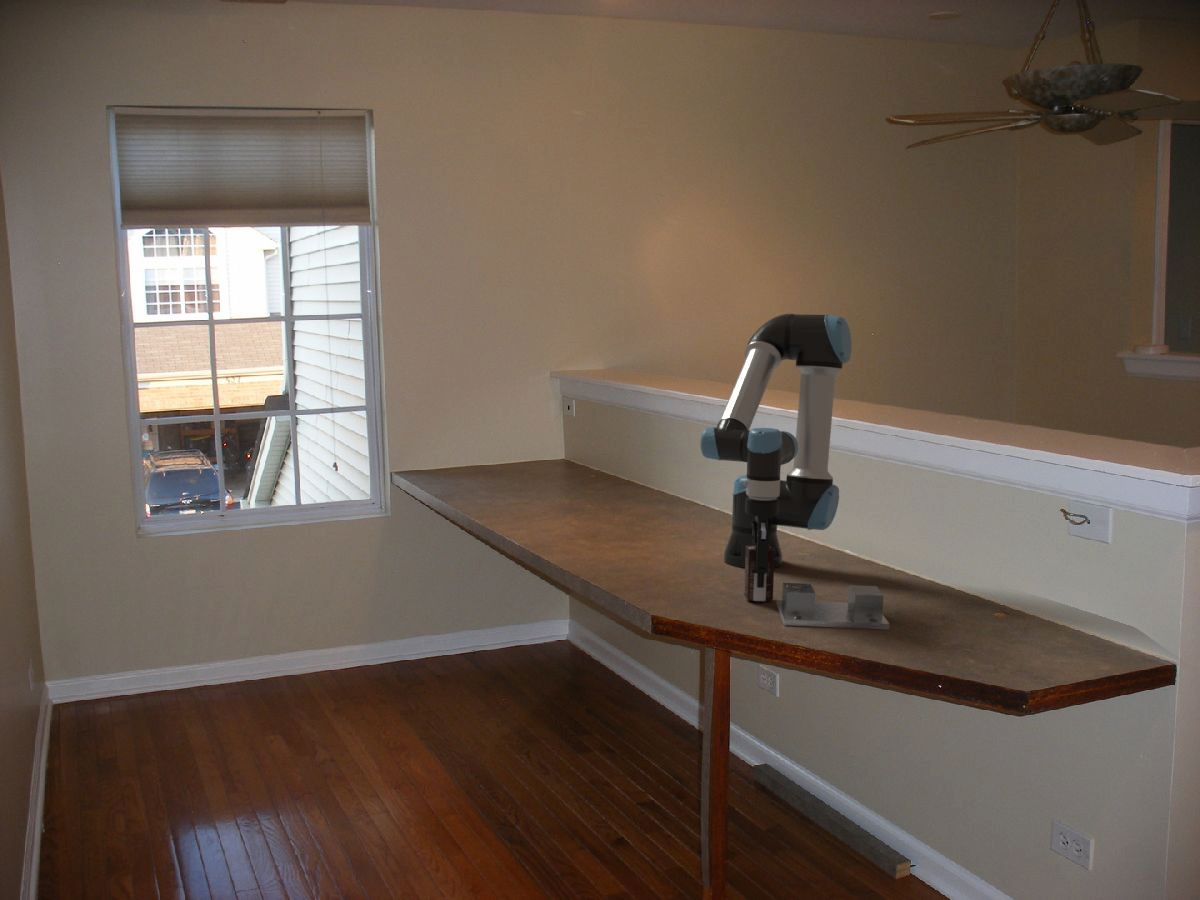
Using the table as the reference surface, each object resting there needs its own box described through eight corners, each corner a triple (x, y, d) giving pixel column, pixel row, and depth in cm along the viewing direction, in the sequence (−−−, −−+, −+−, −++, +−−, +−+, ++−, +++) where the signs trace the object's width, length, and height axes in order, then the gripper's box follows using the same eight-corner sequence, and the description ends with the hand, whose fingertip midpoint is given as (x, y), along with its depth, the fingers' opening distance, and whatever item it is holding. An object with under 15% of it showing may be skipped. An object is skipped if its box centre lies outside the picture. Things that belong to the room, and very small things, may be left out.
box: (768, 595, 265) (771, 544, 263) (773, 601, 261) (775, 549, 259) (742, 595, 265) (745, 544, 263) (747, 601, 260) (749, 549, 258)
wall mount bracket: (776, 604, 259) (777, 578, 258) (874, 608, 258) (876, 581, 257) (784, 625, 243) (785, 596, 243) (889, 629, 242) (890, 600, 242)
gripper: (742, 489, 268) (739, 586, 272) (748, 504, 250) (744, 607, 254) (775, 490, 268) (771, 587, 271) (783, 505, 250) (778, 608, 254)
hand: (758, 597), depth 263 cm, fingers closed on box, 5 cm apart
